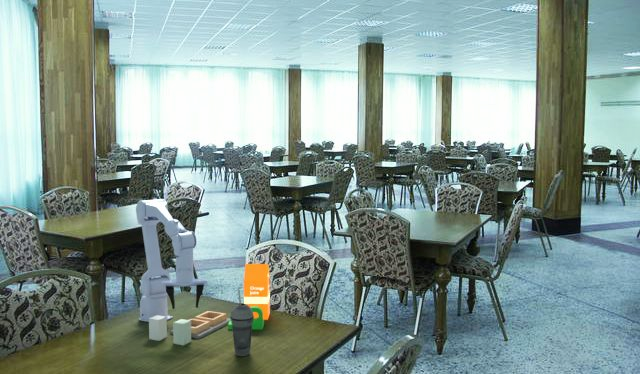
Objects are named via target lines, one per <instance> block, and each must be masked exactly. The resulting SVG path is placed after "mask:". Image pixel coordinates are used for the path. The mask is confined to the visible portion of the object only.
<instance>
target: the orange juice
mask: <svg viewBox="0 0 640 374" xmlns="http://www.w3.org/2000/svg"><path fill="white" fill-rule="evenodd" d="M244 265H245V266H244V278H243V304H247V305H248V306H250V307H252V306H258V307H260V308H261V309H262V311H263V319H264V321H268V320H269V316H270V314H271V313H270V312H271V301H270V300H271V297H270V296H271V293H270V292H271V291H270V277H271V275H270V268H269V263H245V264H244ZM253 315H254V318H257V317H259V315H258V313H256V312H253Z"/></svg>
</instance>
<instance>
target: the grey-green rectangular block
mask: <svg viewBox="0 0 640 374" xmlns="http://www.w3.org/2000/svg"><path fill="white" fill-rule="evenodd" d="M167 321H168V320H166V317H165V316H159V315H156V316H154V317H151V318H149V322H148V332H149V333H148V335H149V336H148V337H149V340H153V341H162V340H164V339H166V338H167V337H168V332H167V331H168V329H167V327H168V326H167V325H168V324H167V323H168V322H167Z"/></svg>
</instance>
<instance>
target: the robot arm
mask: <svg viewBox="0 0 640 374" xmlns="http://www.w3.org/2000/svg"><path fill="white" fill-rule="evenodd" d="M135 213H136V219H137V224H138V225H141V231H142V236H143V237H142V238H143V243H144V244H143V245H144V252H145V257H146V265H147V270H146V271H145V272H144V273H143V274H142V276H141V277H140V279H141V283H140V290H141V293H142V296H141V298H140V301H139V318H138V321H141V322H146V323H147V322H148V323H149V318H151V317H154V316H156V315H159V316H165V317H166V320H167V321H168V320H171V319H173V316H172V315H169V313H168V299H169V301H170V303H171V307H172V310H174V309H176V305H175V304H176V302H175V301H176V300H175V288H181V287H182V288H183V287H184V288H185V287H195V292H196V293H195V296H196V299H195V308H199V302H200V299H201V296H202V293H203V292H204V289H205V288H204V287H208V279H207V278H194V249H195V248H196V246H197V236H196V234H195V232H194V231H192V230H191V231H190V230H188V229H186V228H185V226H184V225H183V224H182V223H181V222H180V221H179V220H178V219H174V218H173V216H172V214H171V213H170V212H169V205H168V203H167V201H166V199H164V198H159V199H147V200H145V199H143V200H142V199H141V200H140V199H139V200H138V202H137V203H136V207H135ZM160 222H161V224H163V226H164V232H165V233H166V234H167V235H168V237H169V238H170V239H171V243H172V248H173V254H174V256H175V278H176V279H171V276H170V272H169V271H168V270H166V269H164V268H163V266H162V259H161V251H160V250H161V249H160V244H159V239H158V238H159V237H158V230H157V225H158V224H159V223H160Z"/></svg>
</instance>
